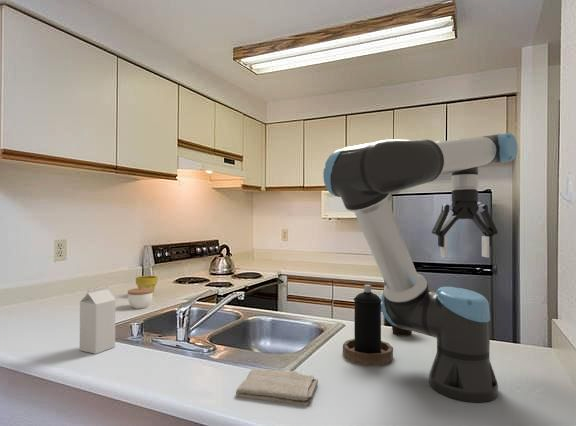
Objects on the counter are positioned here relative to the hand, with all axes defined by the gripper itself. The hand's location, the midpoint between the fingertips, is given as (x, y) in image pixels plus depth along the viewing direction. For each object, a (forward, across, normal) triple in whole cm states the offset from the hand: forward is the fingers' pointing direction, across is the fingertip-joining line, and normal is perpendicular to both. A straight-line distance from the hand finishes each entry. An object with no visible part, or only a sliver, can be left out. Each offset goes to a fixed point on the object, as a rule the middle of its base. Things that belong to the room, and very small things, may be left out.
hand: (464, 257), depth 119 cm
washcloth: (+29, +60, +23) cm, 70 cm away
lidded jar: (+29, +117, -64) cm, 136 cm away
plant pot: (+29, +120, -88) cm, 152 cm away
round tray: (+29, +32, +3) cm, 43 cm away
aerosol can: (+28, +32, +3) cm, 42 cm away
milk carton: (+29, +114, -10) cm, 118 cm away
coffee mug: (+29, +13, -19) cm, 37 cm away
